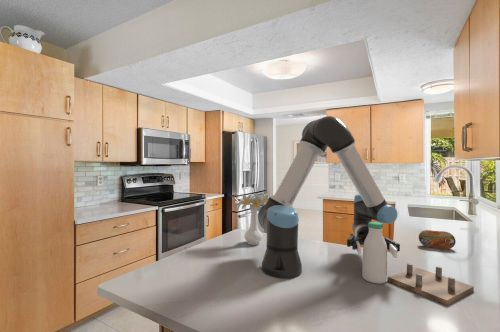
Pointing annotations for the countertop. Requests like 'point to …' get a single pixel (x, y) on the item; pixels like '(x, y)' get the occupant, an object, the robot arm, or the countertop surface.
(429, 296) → the peg board
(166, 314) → the countertop surface
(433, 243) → the tin
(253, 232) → the flower vase
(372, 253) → the milk bottle
